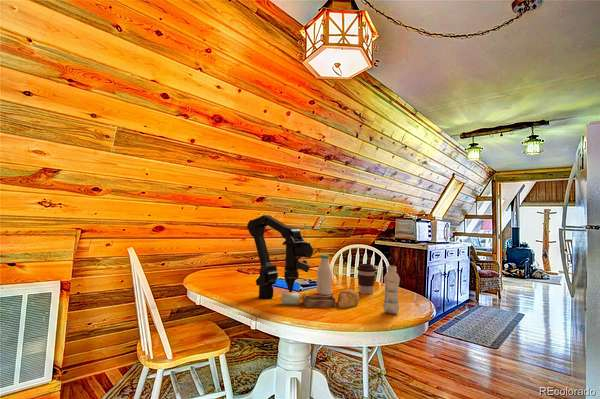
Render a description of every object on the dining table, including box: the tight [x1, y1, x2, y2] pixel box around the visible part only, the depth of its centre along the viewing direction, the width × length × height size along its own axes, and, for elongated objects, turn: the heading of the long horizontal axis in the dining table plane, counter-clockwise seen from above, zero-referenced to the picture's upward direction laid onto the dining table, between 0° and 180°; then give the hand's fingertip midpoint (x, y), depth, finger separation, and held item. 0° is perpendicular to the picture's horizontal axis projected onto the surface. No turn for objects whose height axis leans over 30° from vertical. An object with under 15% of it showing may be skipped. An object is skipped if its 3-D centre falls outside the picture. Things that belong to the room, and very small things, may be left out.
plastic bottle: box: [382, 265, 401, 315], centre depth 138 cm, size 6×7×20 cm
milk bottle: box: [316, 254, 333, 296], centre depth 169 cm, size 8×8×20 cm
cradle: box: [302, 292, 336, 308], centre depth 148 cm, size 14×8×4 cm, turn 93°
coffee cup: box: [356, 263, 377, 295], centre depth 173 cm, size 10×10×15 cm
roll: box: [280, 292, 301, 306], centre depth 147 cm, size 8×5×5 cm, turn 93°
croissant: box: [337, 288, 360, 309], centre depth 151 cm, size 21×10×8 cm, turn 153°
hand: (290, 289), depth 147 cm, fingers open, 9 cm apart
